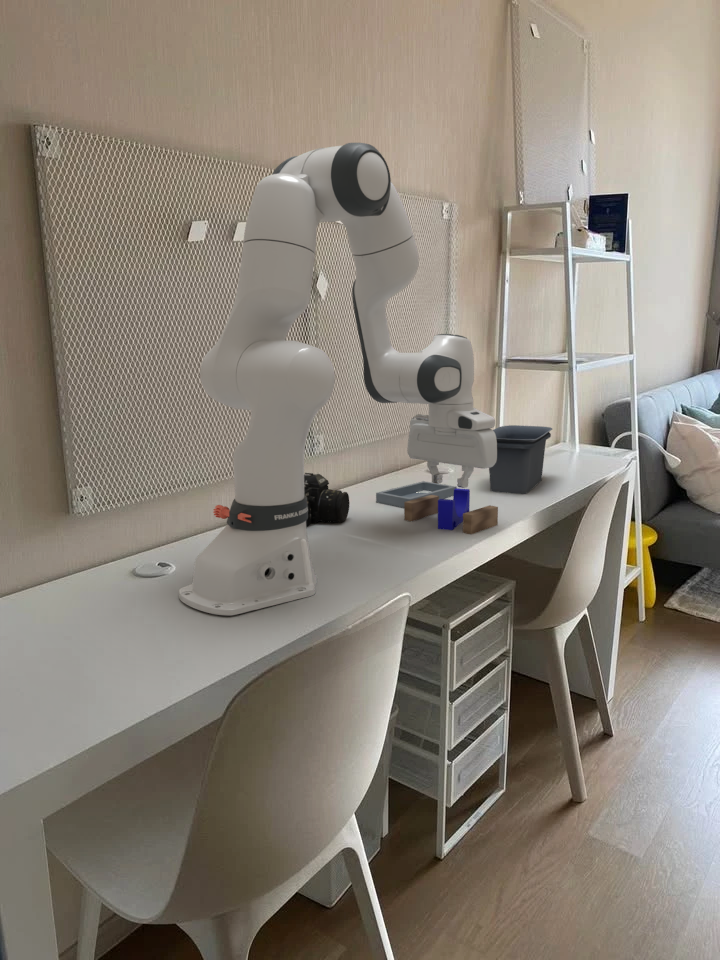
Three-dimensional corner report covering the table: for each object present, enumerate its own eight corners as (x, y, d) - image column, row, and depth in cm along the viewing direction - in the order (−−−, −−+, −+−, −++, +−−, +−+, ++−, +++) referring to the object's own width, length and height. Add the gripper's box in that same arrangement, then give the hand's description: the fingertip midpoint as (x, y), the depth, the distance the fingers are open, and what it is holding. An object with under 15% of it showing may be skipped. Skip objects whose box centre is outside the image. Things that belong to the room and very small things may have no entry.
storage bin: (533, 500, 172) (535, 438, 170) (468, 494, 179) (469, 435, 176) (553, 482, 191) (555, 427, 188) (494, 478, 198) (495, 424, 195)
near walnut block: (471, 535, 145) (471, 515, 145) (462, 533, 147) (463, 513, 146) (497, 526, 152) (497, 506, 151) (489, 524, 153) (489, 505, 152)
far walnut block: (411, 522, 156) (411, 503, 155) (404, 520, 157) (404, 502, 156) (438, 514, 162) (438, 496, 161) (431, 512, 163) (431, 494, 163)
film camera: (349, 532, 149) (348, 482, 147) (286, 533, 149) (285, 483, 147) (350, 510, 166) (349, 466, 164) (294, 511, 166) (292, 467, 164)
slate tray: (409, 510, 165) (409, 499, 164) (376, 503, 172) (376, 492, 171) (456, 497, 177) (456, 486, 176) (423, 491, 184) (423, 481, 183)
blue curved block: (448, 515, 161) (449, 487, 160) (469, 517, 159) (469, 489, 158) (430, 528, 150) (430, 499, 149) (452, 531, 149) (452, 501, 147)
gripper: (400, 414, 155) (400, 480, 157) (483, 422, 141) (481, 494, 143) (420, 412, 159) (420, 476, 162) (502, 419, 145) (500, 489, 148)
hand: (449, 485), depth 153 cm, fingers open, 5 cm apart
